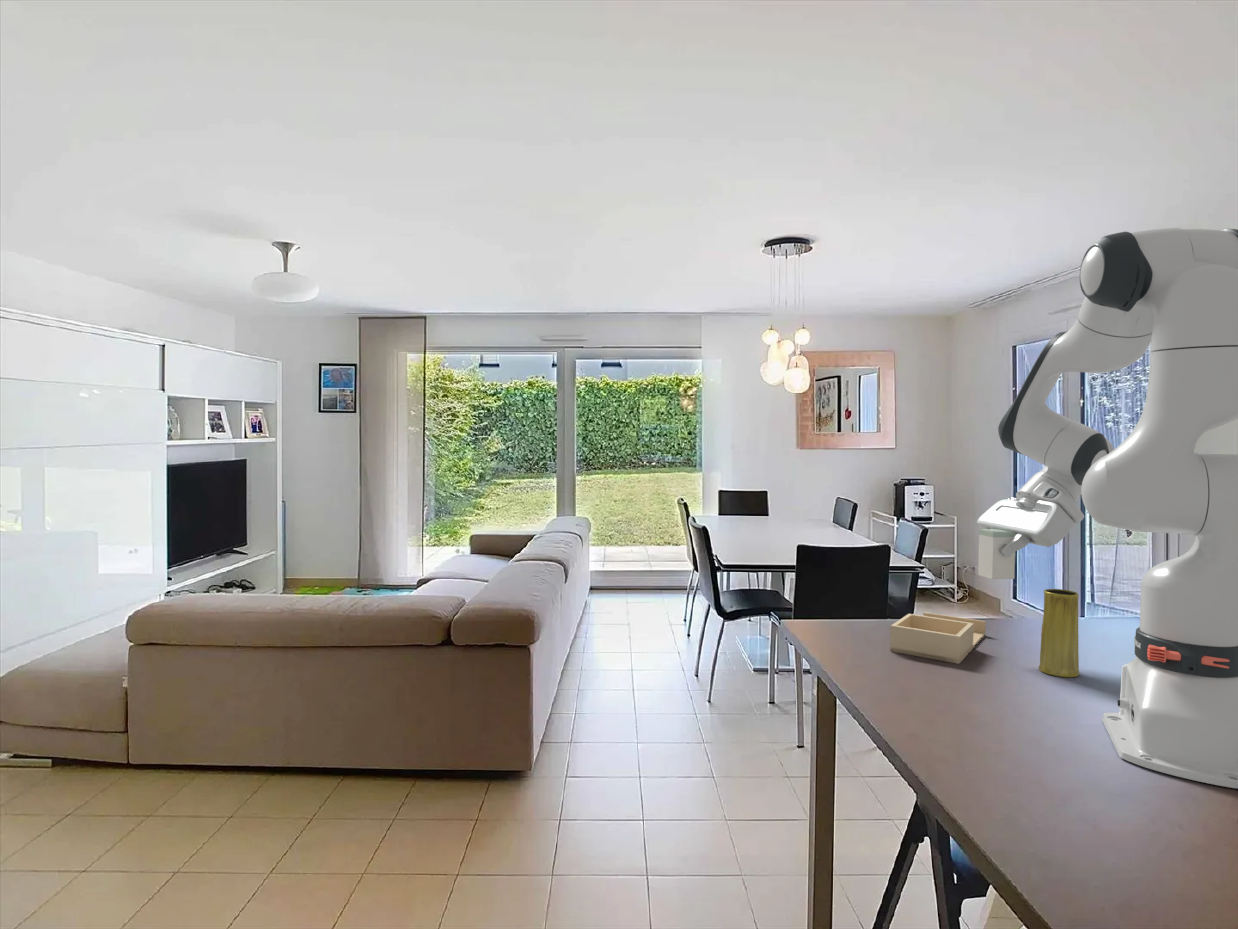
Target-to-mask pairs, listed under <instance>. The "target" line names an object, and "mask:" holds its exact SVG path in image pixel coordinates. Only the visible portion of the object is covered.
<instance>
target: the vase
mask: <svg viewBox="0 0 1238 929" xmlns="http://www.w3.org/2000/svg"><path fill="white" fill-rule="evenodd" d="M1043 600H1044V601H1043V615H1042V616H1043V617H1042V623H1041V634H1040V636H1041V637H1040V650H1039V652H1040V653H1039V664H1038V665H1039V666H1038V670H1039V671H1040V672H1042V673H1043V674H1046V675H1049V676H1053V677H1060V678H1068V679H1069V678H1077V677H1079V675H1080V670H1079V668H1080V666H1079V660H1080V659H1079V593H1078V592H1076V591H1073V590H1067V589H1062V588H1047V589H1044V590H1043Z"/></svg>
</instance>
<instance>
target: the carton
mask: <svg viewBox="0 0 1238 929" xmlns="http://www.w3.org/2000/svg"><path fill="white" fill-rule="evenodd" d="M1015 536H1016V532H1011V531H1005V530H1000V529H981V528H979V529H978V558H977V559H978V560H977V562H978V563H977V575H978V576H980V577H984V578H987V579H990V580H1015V571H1016V570H1015V569H1016V567H1015V566H1016V551H1015V552H1014V553H1013V554H1012V555H1011V556H1010V557H1006V556H1003V555H1002V554H1001V553H1000V552H999V549H1000V548H1001V547H1002V545H1003V544H1008V543H1009V542H1011V541H1012V540H1014V539H1015V538H1014V537H1015Z"/></svg>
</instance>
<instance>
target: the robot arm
mask: <svg viewBox="0 0 1238 929" xmlns="http://www.w3.org/2000/svg"><path fill="white" fill-rule="evenodd" d="M1079 268H1080V269H1079V286H1080V290H1081V292H1082V295H1084V296H1085V297H1084V299H1083V301H1082V304H1081V306H1080V308H1079V312H1078V313H1077V317H1076V319H1075V321H1074V323H1073V325H1072V326H1071V327H1070V328H1069V330H1067V331H1060V332H1058V333H1056V334H1055V335H1054V336H1053V337H1052V338H1051V339H1049V341H1048V342H1047V343H1046V344H1045V346H1044V347H1043V348H1042V350H1041V351H1040V353H1039V355H1038V357H1036V360H1035V361H1034V363H1033V365H1032V368H1031V369H1030V371H1029V372H1028V374H1027V376H1026V379H1025V380H1024V382H1023V384H1022V386H1021V388H1020V389H1019V390H1018V394H1017V395H1016V397H1015V398H1014V400H1013V403H1012V404H1011V405H1010V407H1008V410H1007V411H1006V412H1005V413H1004V415H1003V417H1002V419H1001V420H1000V422H999V424H998V427H997V430H998V436H999V439H1000V441H1001V445H1002V446H1003V447H1004V449H1007V450H1011V451H1012V452H1015V453H1018V454H1020V455H1024V456H1025V457H1028V458H1030V459H1031V460H1033V461H1035V462H1036V463H1039V464H1041V465H1043V468H1042V469H1041V470H1040V471H1038V472H1035V473H1034V474H1033V475H1032V476H1031V477H1030V478H1029V479H1028V480H1027V482H1026V483H1024V484H1023V485H1022V487H1020V488H1019V489H1018V491H1017V492H1016V493H1015V497H1012V496H1011V497H1009V498H1008V499H1001V500H998V501H996V502H994V503H993V505H991V506H990V507H989V508H988V509H987V510H986V511H984V512H983V513H982V514H981V515H980V516H979V517H978V518H977V520H976V525H977V526H978V527H979V529H1000V530H1005V531H1011V532H1016V536H1015V537H1014V538H1015V539H1014V540H1012V541H1011V542H1009V543H1008V544H1003V545H1002V547H1001V548H1000V549H999V552H1000V553H1001V554H1002V555H1003V556H1006V557H1010V556H1011V555H1012V554H1013V553H1014V552H1015V553H1016V552H1018V551H1019V550H1021V549H1024V548H1025V547H1026V546H1028V545H1029V544H1032V545H1036V546H1041V547H1046V548H1050V547H1054V546H1055V545H1057V544H1058V543H1060V541H1062V540H1063V539H1064V538H1065V537H1066V536H1067V535H1068V534H1069V533H1070V532H1071V531H1072V529H1073V528H1074V527H1075V524H1079V523H1081V521H1083V520H1084V518H1085V515H1084V513H1083V512H1082V510H1081V509H1080V508H1079V507H1078V506H1077V505H1076V503H1077V501H1078V499H1079V497H1080V496H1081V500H1082V504H1083V505H1084V508H1085V510H1086V511H1087V513H1088V514H1089V516H1091V517H1092V519H1093V520H1095V522H1097V523H1098V524H1099V525H1105V526H1109V527H1112V528H1117V529H1123V530H1126V531H1132V532H1140V533H1155V534H1157V533H1158V534H1159V533H1161V534H1178V535H1179V534H1181V535H1183V534H1184V535H1193V536H1195V538H1194V542H1193V544H1192V546H1191V547H1190V548H1189V550H1187V551H1185V553H1184V554H1181V555H1180V556H1177V557H1175V558H1171V559H1168V560H1165V561H1163V562H1160V563H1158V564H1156V565H1154V566H1152V567H1151V568H1149V569H1148V570H1147V571H1146V572H1145V573H1144V575H1143V577H1142V579H1141V581H1140V600H1139V602H1140V603H1139V604H1140V607H1139V608H1140V609H1139V627H1137V628H1136V629H1135V636H1134V638H1133V639H1134V640H1133V643H1134V655H1135V657H1134V658H1133V659H1132V660H1131V661H1129V662H1127V663H1125V664H1124V665H1122V666H1121V676H1120V677H1121V680H1120V693H1119V694H1120V698H1118V699H1117V706H1118V709H1119V712H1104V713H1103V715H1102V719H1101V720H1102V723H1103V724H1104V727H1105V729H1106V731H1107V733H1108V736H1109V737H1110V739H1111V741H1112V744H1113V746H1114V748H1115V750H1116V752H1117V754H1118V755H1119V756H1118V757H1120V758H1121V759H1123V760H1125V761H1127V762H1130V763H1132V764H1134V765H1137V766H1140V767H1143V768H1147V769H1150V770H1153V771H1155V772H1159V773H1162V774H1167V775H1170V776H1174V777H1178V778H1182V779H1187V780H1191V781H1196V782H1201V783H1204V784H1205V783H1206V784H1208V785H1209V784H1210V785H1215V786H1220V787H1226V788H1230V789H1231V788H1232V789H1237V790H1238V453H1237V454H1232V453H1230V454H1229V453H1228V454H1227V453H1197V452H1195V448H1196V444H1197V443H1198V440H1200V439H1201V437H1202V436H1203V435H1204V434H1205V433H1206V432H1208V431H1210V430H1213V429H1216V428H1219V427H1221V426H1224V425H1227V424H1229V423H1231V422H1233V421H1235V420H1237V419H1238V229H1237V228H1228V227H1227V228H1222V229H1207V228H1205V229H1204V228H1180V227H1168V228H1157V229H1148V230H1140V231H1136V232H1135V231H1134V232H1129V231H1121V232H1116V233H1111V234H1107V235H1104V236H1102V237H1099V238H1098V239H1096V240H1094V242H1093V243H1092V244H1091V245H1090V246H1089V248H1087V250H1086V251H1085V253H1084V255H1083V258H1082V261H1081V264H1080V267H1079ZM1149 346H1150V353H1149V355H1150V358H1149V368H1148V369H1149V372H1148V381H1147V382H1148V383H1147V389H1146V396H1145V403H1144V406H1143V409H1142V413H1141V415H1140V418H1139V419H1138V421H1137V424H1136V425H1135V427H1133V429H1132V431H1131V432H1130V433H1129V435H1128V436H1127V437H1126V438H1125V439H1124V440H1123V442H1121V443H1120V444H1119V445H1118V446H1117V447H1116V448H1114V445H1113V444H1112V443H1111V441H1110V440H1109V439H1107V438H1106V436H1105V435H1104V434H1102V433H1101V432H1100V431H1098V430H1096V429H1094V428H1092V427H1090V426H1088V425H1086V424H1084V423H1081V422H1079V421H1077V420H1074V419H1071V418H1069V417H1067V416H1064V415H1062V414H1060V413H1059V412H1056V411H1054V410H1052V409H1051V408H1050V407H1049V406H1048V404H1047V403H1046V401H1047V399H1048V397H1049V395H1050V394H1051V392H1052V390H1053V388H1055V385H1056V383H1057V382H1058V380H1059V378H1060V376H1061V375H1062V373H1074V372H1075V373H1088V374H1089V373H1090V374H1098V373H1099V374H1102V373H1108V372H1109V373H1110V372H1115V371H1118V370H1123V369H1124V368H1127V367H1129V366H1130V365H1132V364H1135V363H1136V362H1137V361H1138V360H1140V359H1141V358H1142V357H1143V355H1144V354H1145V353H1146V351H1147V349H1148V348H1149Z"/></svg>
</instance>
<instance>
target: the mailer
mask: <svg viewBox="0 0 1238 929" xmlns="http://www.w3.org/2000/svg"><path fill="white" fill-rule="evenodd" d="M922 614H923V615H920V614H914V613H907V614H906V615H904V616H903V617H902V618H900V619H898V620H897V621H895V622H893V623H892V624H891V625H890V639H889V640H890V646H889V648H890V649H889V651H890V652H893V653H897V654H903V655H908V656H914V657H919V658H926V659H930V660H938V661H942V662H946V663H951V664H958V665H959V664H960V663H961V662H962V661H963V660H964V659H965V658H966V657H967V656H968V655H969V654H970V653H971V652H972V651H973V649H974V648H975V647H976V646H977V645H978V644H979V643H980V642H981V641H982V639H983V638H984V637H985V636H986V628H987V627H986V626H987V624H986V620H980V619H974V618H973V619H972V618H966V617H960V616H954V615H953V616H952V615H947V614H938V613H933V612H927V611H926V612H923V613H922ZM984 635H985V636H984ZM981 638H982V639H981ZM980 640H981V641H980ZM979 641H980V642H979ZM978 642H979V643H978ZM976 644H977V645H976ZM975 645H976V646H975ZM969 652H970V653H969ZM968 653H969V654H968Z"/></svg>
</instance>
